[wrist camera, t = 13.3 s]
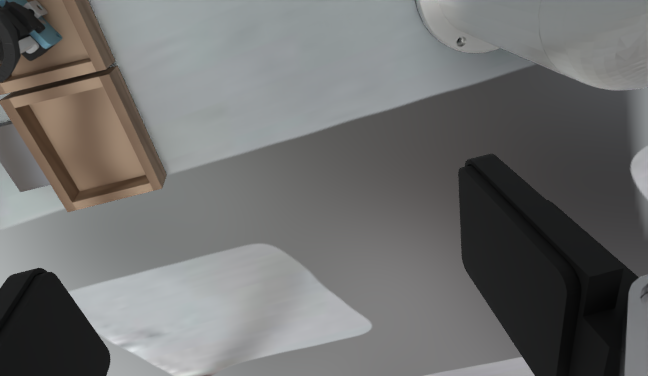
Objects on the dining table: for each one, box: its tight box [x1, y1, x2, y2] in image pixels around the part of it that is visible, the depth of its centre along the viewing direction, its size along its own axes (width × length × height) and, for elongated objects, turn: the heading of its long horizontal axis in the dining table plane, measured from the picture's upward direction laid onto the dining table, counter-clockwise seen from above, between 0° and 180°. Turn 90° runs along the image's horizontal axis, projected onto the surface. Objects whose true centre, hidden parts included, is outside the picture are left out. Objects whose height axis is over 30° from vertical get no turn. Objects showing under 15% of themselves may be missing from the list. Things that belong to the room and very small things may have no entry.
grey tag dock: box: [0, 66, 167, 212], centre depth 37 cm, size 12×11×3 cm
